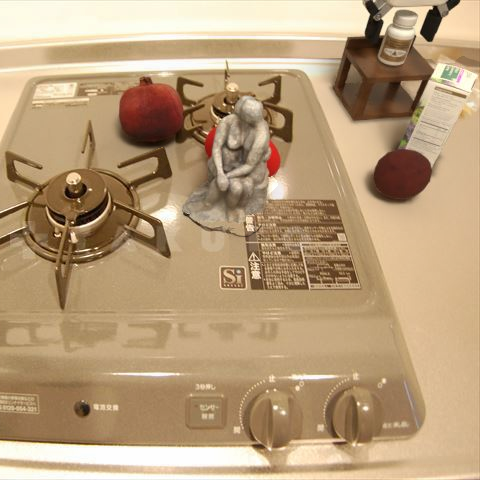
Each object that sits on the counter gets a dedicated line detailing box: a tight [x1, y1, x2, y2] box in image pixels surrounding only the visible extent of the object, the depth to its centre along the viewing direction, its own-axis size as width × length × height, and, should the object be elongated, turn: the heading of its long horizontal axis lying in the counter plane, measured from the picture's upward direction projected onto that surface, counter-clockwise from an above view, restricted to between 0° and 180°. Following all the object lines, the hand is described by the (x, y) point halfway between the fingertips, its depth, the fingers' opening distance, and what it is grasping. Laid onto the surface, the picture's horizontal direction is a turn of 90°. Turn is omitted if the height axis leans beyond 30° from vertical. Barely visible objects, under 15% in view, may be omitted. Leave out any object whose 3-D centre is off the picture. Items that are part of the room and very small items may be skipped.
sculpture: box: [181, 95, 271, 234], centre depth 71 cm, size 11×18×12 cm
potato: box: [372, 148, 433, 200], centre depth 78 cm, size 7×8×7 cm
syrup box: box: [396, 62, 479, 169], centre depth 81 cm, size 6×6×14 cm
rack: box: [332, 34, 435, 121], centre depth 93 cm, size 12×10×10 cm
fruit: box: [118, 76, 185, 143], centre depth 85 cm, size 11×10×10 cm
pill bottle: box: [378, 9, 419, 66], centre depth 88 cm, size 4×4×8 cm
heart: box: [204, 125, 282, 178], centre depth 79 cm, size 12×5×10 cm, turn 62°
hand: (398, 39), depth 88 cm, fingers open, 9 cm apart
